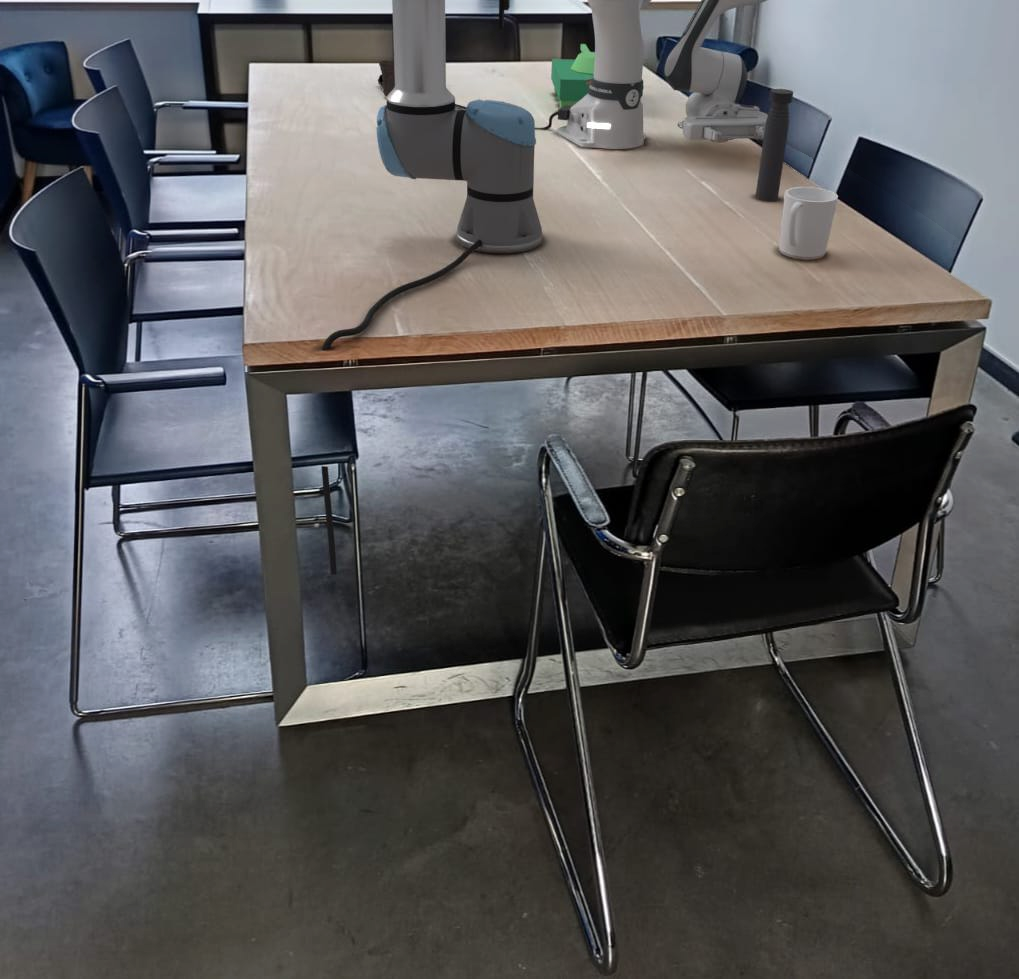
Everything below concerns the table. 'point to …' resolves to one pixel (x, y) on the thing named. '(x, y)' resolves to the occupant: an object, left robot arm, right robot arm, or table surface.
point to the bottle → (773, 152)
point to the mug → (806, 222)
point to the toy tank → (572, 76)
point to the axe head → (387, 76)
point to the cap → (781, 96)
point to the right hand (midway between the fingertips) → (739, 136)
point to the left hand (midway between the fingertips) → (468, 26)
